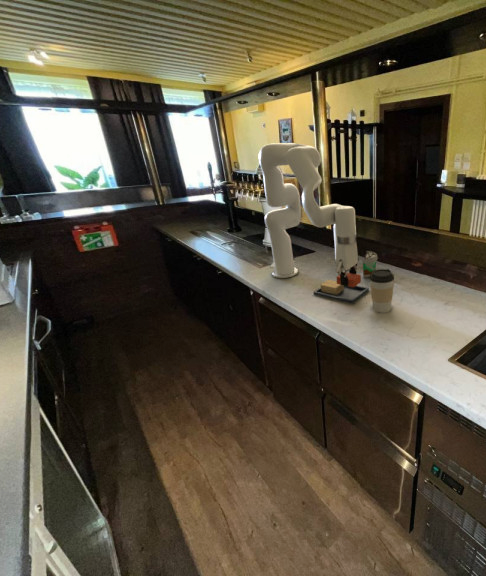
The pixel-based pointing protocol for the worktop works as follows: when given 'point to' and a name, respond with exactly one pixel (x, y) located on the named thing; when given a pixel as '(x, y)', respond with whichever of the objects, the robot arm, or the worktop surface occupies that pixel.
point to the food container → (369, 263)
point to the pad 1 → (331, 287)
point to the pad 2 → (351, 279)
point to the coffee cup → (382, 289)
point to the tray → (345, 294)
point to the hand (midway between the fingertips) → (348, 281)
